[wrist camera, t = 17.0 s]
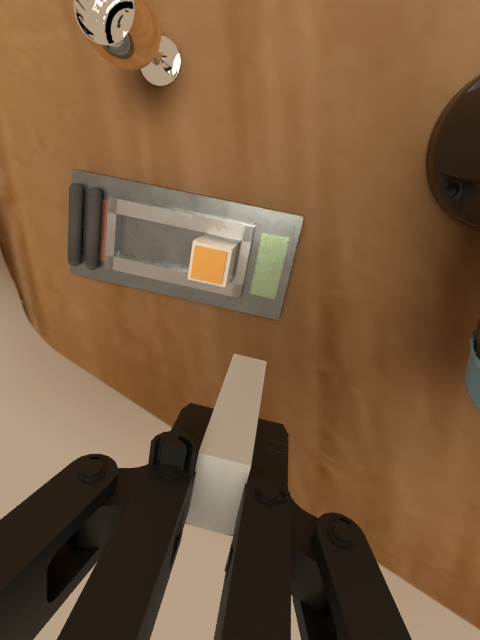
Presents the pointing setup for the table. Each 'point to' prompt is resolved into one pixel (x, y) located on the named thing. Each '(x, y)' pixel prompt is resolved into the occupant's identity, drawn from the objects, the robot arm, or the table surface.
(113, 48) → the wineglass
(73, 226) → the twin grey rollers
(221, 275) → the toggle
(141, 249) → the panel
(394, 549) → the table surface
